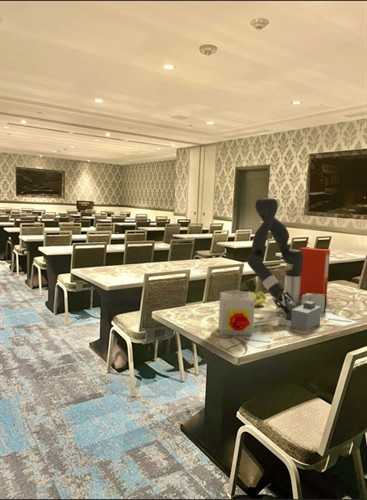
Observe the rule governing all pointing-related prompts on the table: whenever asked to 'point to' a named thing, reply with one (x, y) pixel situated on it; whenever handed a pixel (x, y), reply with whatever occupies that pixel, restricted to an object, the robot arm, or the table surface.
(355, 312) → the table surface
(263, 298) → the plastic component
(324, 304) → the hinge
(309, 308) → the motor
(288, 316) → the dark grey tube
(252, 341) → the table surface
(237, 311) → the electrical switch box
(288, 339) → the table surface
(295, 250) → the robot arm
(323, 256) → the file binder
